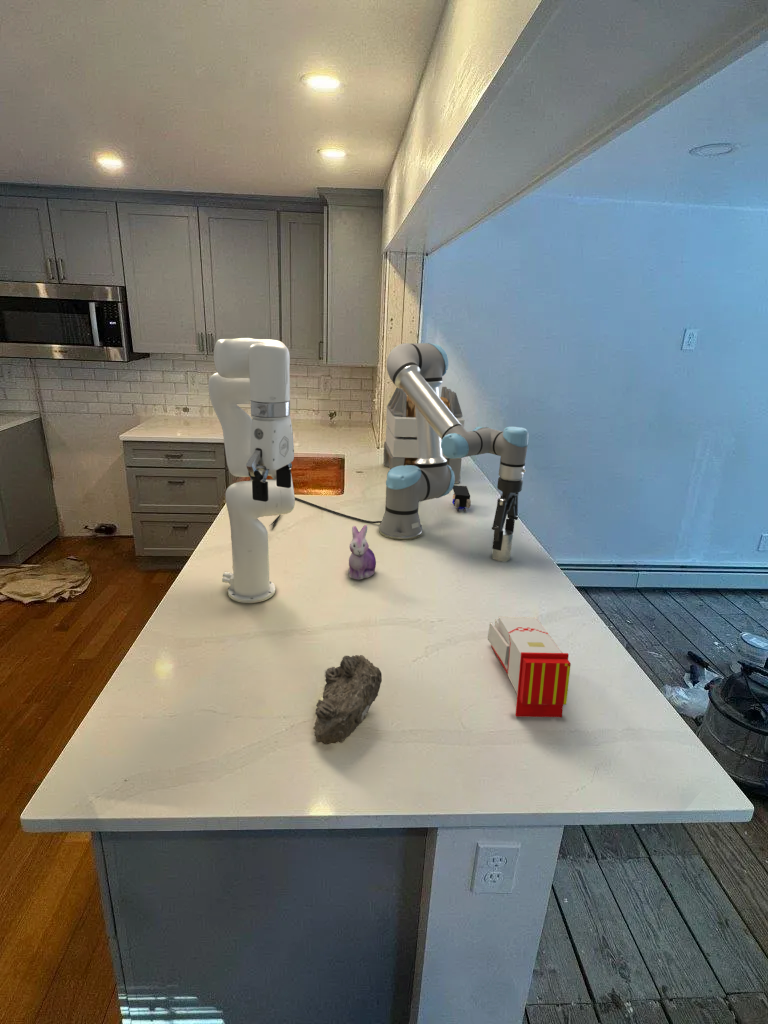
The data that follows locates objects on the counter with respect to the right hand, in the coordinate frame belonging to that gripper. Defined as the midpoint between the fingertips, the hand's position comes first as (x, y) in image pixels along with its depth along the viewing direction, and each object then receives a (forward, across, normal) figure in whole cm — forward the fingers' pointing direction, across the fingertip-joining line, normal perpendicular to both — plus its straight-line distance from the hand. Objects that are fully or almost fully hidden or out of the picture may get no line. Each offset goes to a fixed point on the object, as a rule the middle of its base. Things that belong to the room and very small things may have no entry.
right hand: (502, 543), depth 183 cm
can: (+5, 0, 0) cm, 5 cm away
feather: (+5, -13, +81) cm, 82 cm away
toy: (+5, -59, -25) cm, 64 cm away
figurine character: (+5, +38, +30) cm, 49 cm away
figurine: (+5, -36, +31) cm, 48 cm away
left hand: (-33, -82, +25) cm, 92 cm away
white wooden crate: (+5, +73, +66) cm, 99 cm away
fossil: (+5, -89, +1) cm, 89 cm away
